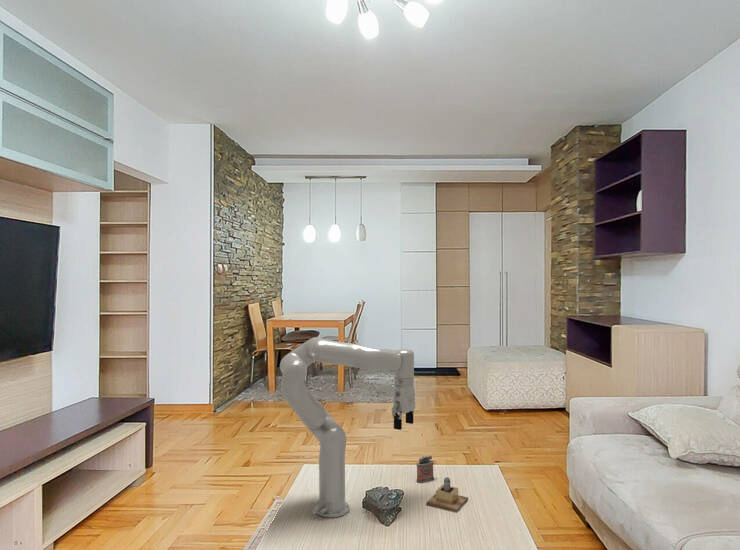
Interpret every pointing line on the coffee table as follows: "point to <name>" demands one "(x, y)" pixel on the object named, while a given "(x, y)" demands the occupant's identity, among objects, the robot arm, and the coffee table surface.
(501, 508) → the coffee table surface
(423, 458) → the lighter
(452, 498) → the collar
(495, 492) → the coffee table surface
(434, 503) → the stacked peg stand
